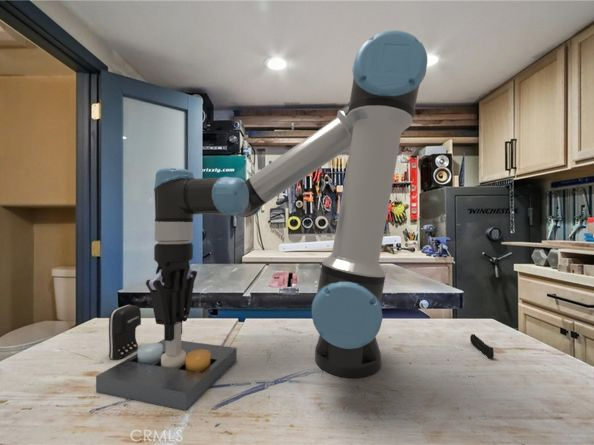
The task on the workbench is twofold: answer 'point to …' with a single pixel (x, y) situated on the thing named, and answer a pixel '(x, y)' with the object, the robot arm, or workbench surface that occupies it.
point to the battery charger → (123, 331)
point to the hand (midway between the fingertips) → (173, 353)
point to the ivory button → (173, 360)
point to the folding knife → (482, 346)
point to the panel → (166, 378)
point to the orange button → (198, 360)
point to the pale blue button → (150, 353)
